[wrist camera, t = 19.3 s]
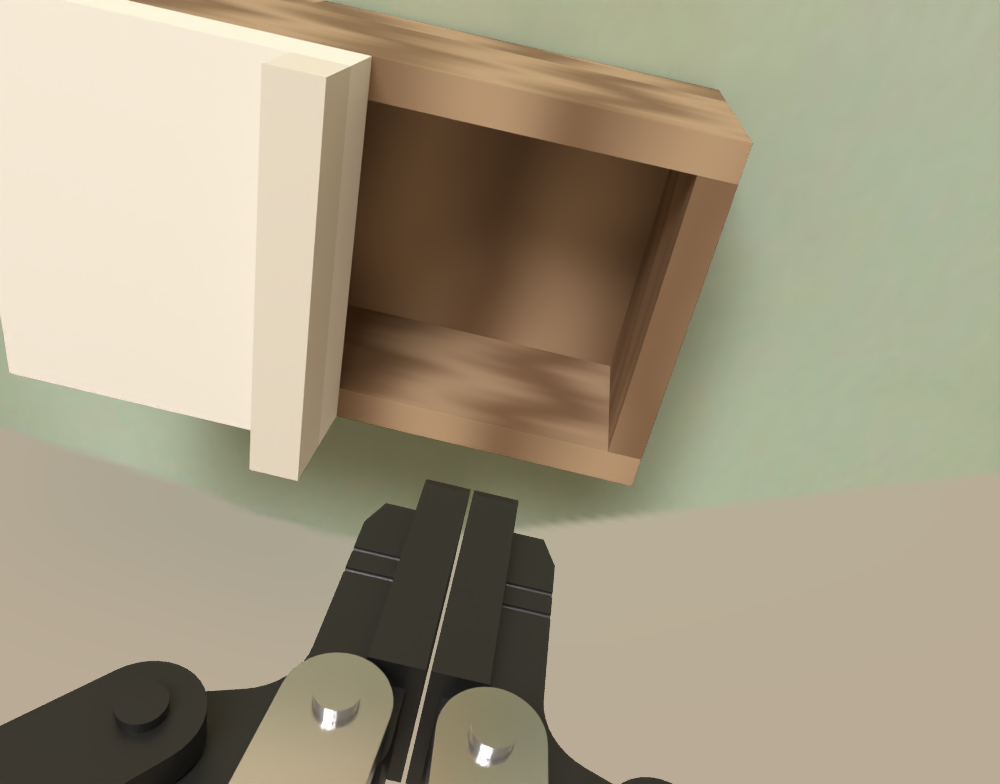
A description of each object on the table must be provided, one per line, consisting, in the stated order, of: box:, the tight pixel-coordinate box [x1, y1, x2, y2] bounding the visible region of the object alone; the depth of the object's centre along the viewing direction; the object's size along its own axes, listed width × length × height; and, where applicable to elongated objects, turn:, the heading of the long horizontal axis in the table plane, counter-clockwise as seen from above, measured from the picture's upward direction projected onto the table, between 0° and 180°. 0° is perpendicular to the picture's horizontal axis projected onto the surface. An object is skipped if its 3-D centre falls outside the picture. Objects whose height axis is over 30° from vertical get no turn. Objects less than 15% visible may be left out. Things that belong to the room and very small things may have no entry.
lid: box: [0, 0, 372, 481], centre depth 24 cm, size 11×12×4 cm
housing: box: [128, 0, 753, 486], centre depth 29 cm, size 22×12×9 cm, turn 79°
